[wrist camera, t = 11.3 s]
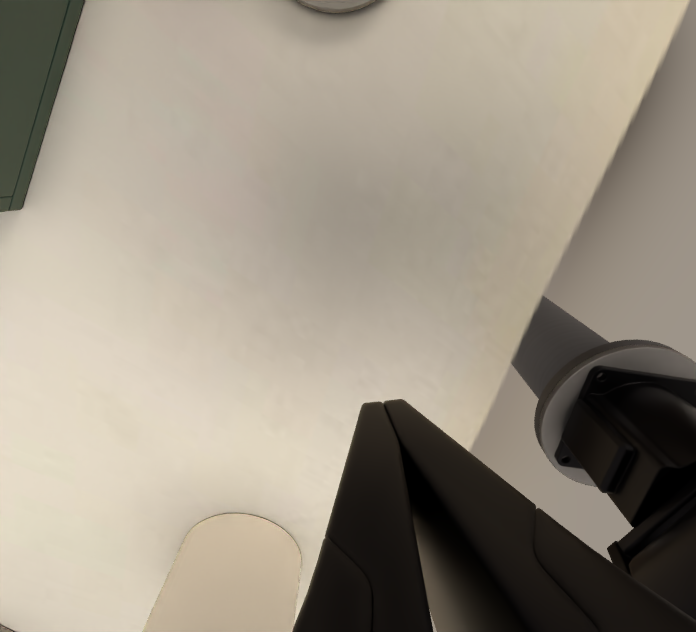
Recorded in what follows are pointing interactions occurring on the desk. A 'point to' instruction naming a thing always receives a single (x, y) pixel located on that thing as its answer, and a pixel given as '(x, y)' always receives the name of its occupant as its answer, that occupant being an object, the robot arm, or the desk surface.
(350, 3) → the pocket watch
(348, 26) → the desk surface
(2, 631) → the alarm clock
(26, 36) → the panel
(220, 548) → the cup
